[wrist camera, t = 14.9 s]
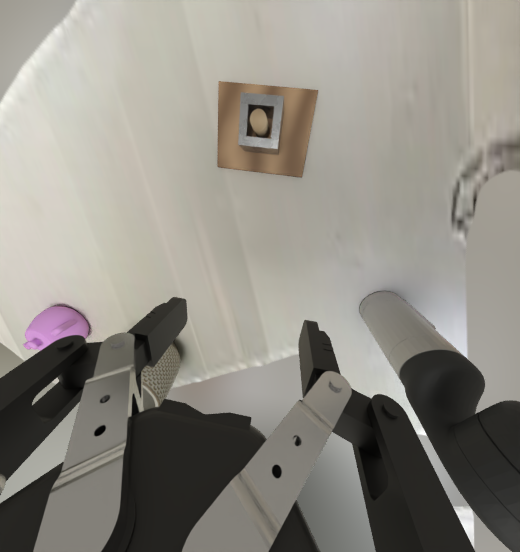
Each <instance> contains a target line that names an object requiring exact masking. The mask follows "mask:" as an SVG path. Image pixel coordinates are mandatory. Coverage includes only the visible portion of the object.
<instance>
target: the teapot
mask: <svg viewBox="0 0 520 552" xmlns="http://www.w3.org/2000/svg"><path fill="white" fill-rule="evenodd" d="M88 332H89V325H88V323H87V321H86V320H85V318H84V317H83V316H82V315H81V314H80V313H78V312H77V311H75V310H73V309H71V308H68V307H60V306H54V307H50V308H48V309H46V310H44V311H43V312H41V313H40V314H39V315H37V316H36V317H35V318H34V320H33V321H32V322H31V324H30V325H29V327H28V328H27V330H26V332H25V337H26V339H27V341H28V342H26V343H24V344H23V345H24V347H25V348H27V349H31V348H32V349H39V350H42V349H44V348H45V347H47V346H48V345H50V344H51V343H53V342H54V341H56V340H58V339H61V338H63V337H67V336H71V335H81V336H83V337H84V338H85V339H86V337H87V336H88Z"/></svg>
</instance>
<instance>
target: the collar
mask: <svg viewBox="0 0 520 552" xmlns="http://www.w3.org/2000/svg"><path fill="white" fill-rule="evenodd" d="M255 109H262V110H263V111H264V112H265V114H266V117H267V118H269V119H273V124H272V133H271V139H269V138H259V137H252V134H253V128H252V126H251V123H250V116H251V114H252V112H253V111H254V110H255ZM283 117H284V96H278V95H266V94H255V93H243V92H241V98H240V118H239V139H238V145H239V146H240V147H241V148H242V149H243V150H244V151H245V152H254V153H264V154H273V155H279V148H280V140H281V133H282V125H283Z"/></svg>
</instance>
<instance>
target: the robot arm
mask: <svg viewBox="0 0 520 552" xmlns="http://www.w3.org/2000/svg"><path fill="white" fill-rule="evenodd" d="M359 312H360V315H361V317H362V318H363V320H364V322H365V323H366V325H367V327H368V328H369V330H370V332H371V333H372V335H373V337H374V338H375V340H376V341H377V343H378V345H379V346H380V348H381V350H382V351H383V353H384V354H385V356H386V358H387V359H388V361H389V363H390V364H391V366H392V367H393V369H394V371H395V372H396V374H397V375H398V377H399V379H400V380H401V382H402V383H403V385H404V387H405V392H406V396H407V398H408V400H409V402H410V404H411V406H412V408H413V410H414V412H415V413H416V415H417V417H418V419H419V421H420V423H421V424H422V426H423V428H424V430H425V432H426V434H427V436H428V438H429V440H430V442H431V443H432V445H433V447H434V449H435V451H436V453H437V455H438V456H439V458H440V460H441V462H442V464H443V466H444V467H445V469H446V471H447V472H448V474H449V475H450V477H451V479H452V480H453V482H454V484H455V485H456V487H457V488H458V490H459V492H460V493H461V494H462V496H463V497H464V499H465V500H466V501H467V503H468V504H469V506H470V507H471V508H472V510H473V511H474V512H475V513H476V515H477V516H478V517H479V518H480V519H481V521H482V522H483V523H484V524H485V525H486V526H487V528H488V529H489V530H490V531H491V532H492V533H493V534H494V535H495V536H496V537H497V538H498V539H499V540H500V541H501V542H502V543H503V544H504V545H505V546H506V547H507V548H509V549H510V550H511V551H512V552H520V402H518V401H503V402H500V403H497V404H495V405H492V406H490V407H489V408H486V409H484V410H483V411H481V412H479V413H476V414H475V411H476V407H477V404H478V402H479V400H480V398H481V396H482V394H483V392H484V388H485V381H484V377H483V375H482V374H481V372H480V371H479V370H478V369H477V368H476V367H475V366H474V365H473V364H472V363H471V362H470V361H469V360H468V359H467V358H466V357H464V356H463V355H462V354H461V353H460V352H459V351H458V350H457V349H456V348H455V347H453V346H452V345H451V344H450V343H449V342H448V341H447V340H446V339H445V338H443V337H442V336H441V335H440V334H439V333H438V332H437V331H436V330H435V329H436V328H435V326H434V325H432V324H431V323H430V322H429V321H428V320H427V319H426V318H425V317H424V316H422V315H421V314H420V313H419V312H418V311H417V310H416V309H415V308H413V307H412V306H411V305H410V304H409V303H408V302H407V301H406V300H402V299H401V298H400V297H399V296H398V295H396V294H395V293H392V292H388V291H381V292H376V293H373V294H371V295H369V296H368V297H366V298H365V299H364V300H363V301H362V303H361V305H360V309H359ZM186 322H187V304H186V300H185V299H183V298H177V297H173V298H171V299H170V300H169V301H168V302H167V303H163V304H161V305H159V306H157V307H155V308H154V309H153V310H152V311H151V312H150V313H149V314H147V315H146V317H144V318H143V319H142V320H141V321H139V322H138V323H137V324H136V325H135V326H134V327H133V328H132V329H130V330H129V331H128V332H127V333H118V334H115V335H113V336H110V337H109V338H107V339H106V340H105V341H104V342H94V343H86V340H85V338H84V337H83V336H81V335H71V336H67V337H63V338H61V339H58V340H56V341H54V342H53V343H51V344H50V345H48V346H47V347H45V348H44V349H42V350H41V351H40V352H38V353H37V354H35V355H34V356H32V357H31V358H29V359H28V360H26V361H25V362H23V363H22V364H21V365H19V366H18V367H16V368H15V369H13V370H12V371H10V372H9V373H7V374H6V375H5V376H3V377H2V378H0V495H1V493H2V491H3V489H4V486H5V483H6V481H7V480H8V478H9V477H10V476H11V475H12V474H13V473H14V472H15V471H16V470H17V469H18V468H19V467H20V466H21V464H22V463H23V462H24V461H25V460H26V459H27V458H28V457H29V456H30V455H31V454H32V452H33V451H34V450H35V449H36V448H37V447H38V446H39V445H40V444H41V443H42V442H43V441H44V440H45V438H46V437H47V436H48V435H49V434H50V433H51V432H52V431H53V430H54V429H55V428H56V426H57V425H58V424H59V423H60V422H61V421H62V420H63V419H64V418H65V417H66V416H67V415H68V413H69V412H70V411H71V410H72V409H73V408H74V407H75V406H76V405H77V404H78V403H79V402H80V404H79V408H78V412H77V415H76V419H75V423H74V426H73V430H72V434H71V438H70V441H69V445H68V449H67V453H66V456H65V460H64V462H62V463H61V464H59V465H58V466H56V467H55V468H53V469H52V470H50V471H49V472H47V473H46V474H44V475H43V476H41V477H40V478H38V479H37V480H35V481H34V482H32V483H31V484H29V485H27V486H26V487H25V488H23V489H21V490H20V491H18V492H17V493H15V494H14V495H12V496H11V497H9V498H8V499H6V500H5V501H3V502H2V503H0V552H320V550H319V548H318V546H317V544H316V542H315V539H314V537H313V535H312V533H311V531H310V528H309V526H308V524H307V522H306V520H305V517H304V516H303V513H302V511H301V509H300V507H299V504H298V502H297V500H296V499H297V497H298V495H299V493H300V491H301V489H302V487H303V486H304V484H305V482H306V480H307V478H308V476H309V474H310V472H311V470H312V468H313V467H314V465H315V463H316V461H317V459H318V457H319V455H320V453H321V451H322V449H323V447H324V446H325V444H326V442H327V439H328V438H329V436H330V434H331V432H334V433H335V434H337V435H339V436H340V437H342V438H344V439H345V440H347V441H349V442H351V443H352V445H353V450H354V454H355V459H356V463H357V468H358V472H359V477H360V481H361V486H362V490H363V495H364V500H365V504H366V509H367V514H368V518H369V523H370V527H371V532H372V536H373V541H374V545H375V550H376V552H475V550H474V548H473V546H472V544H471V542H470V540H469V538H468V536H467V534H466V532H465V530H464V528H463V526H462V524H461V522H460V520H459V518H458V516H457V514H456V512H455V510H454V508H453V506H452V504H451V502H450V500H449V498H448V496H447V494H446V492H445V490H444V488H443V486H442V484H441V482H440V480H439V478H438V476H437V474H436V472H435V470H434V468H433V466H432V464H431V462H430V460H429V458H428V456H427V454H426V452H425V450H424V448H423V446H422V444H421V442H420V440H419V438H418V436H417V434H416V432H415V430H414V428H413V426H412V424H411V422H410V420H409V418H408V416H407V414H406V412H405V411H404V409H403V408H402V407H401V406H400V405H399V404H398V403H397V402H396V401H394V400H393V399H391V398H390V397H388V396H385V395H381V394H377V395H374V396H373V398H372V399H371V398H369V397H367V396H365V395H363V394H361V393H359V392H357V391H355V390H353V389H352V388H351V386H350V384H349V383H348V381H347V380H346V379H345V378H344V377H343V376H342V375H341V374H340V371H339V367H338V364H337V361H336V357H335V354H334V352H333V348H332V344H331V341H330V338H329V337H328V335H327V334H326V333H325V332H324V331H319V328H318V324H317V322H314V321H308V320H305V321H304V323H303V327H302V331H301V334H300V338H299V357H300V370H301V381H302V392H303V400H302V401H301V400H299V401H298V402H297V403H296V404H295V405H294V406H293V408H292V409H291V410H290V411H289V413H288V414H287V415H286V417H285V418H284V419H283V420H282V421H281V423H280V424H279V425H278V426H277V428H276V429H275V430H274V431H273V433H272V434H271V435H270V436H269V438H268V439H266V438H265V436H264V435H263V434H262V433H261V432H260V431H259V430H257V429H256V428H255V427H253V426H251V425H250V423H251V417H247V416H243V415H238V414H233V413H220V414H202V413H201V412H199V411H197V410H196V409H194V408H192V407H191V406H189V405H187V404H185V403H181V402H176V401H172V400H167V399H164V400H163V402H162V403H161V405H160V407H154V408H150V409H147V410H144V408H143V372H142V370H143V369H144V367H145V366H150V367H154V366H155V365H156V364H157V362H158V361H159V360H160V358H161V357H162V356H163V354H164V353H165V352H166V350H167V349H168V348H169V346H170V345H171V344H172V342H173V341H174V340H175V338H176V337H177V336H178V335H179V333H180V332H181V331H182V329H183V328H184V327H185V325H186ZM57 377H58V379H59V382H58V383H57V384H56V385H55V386H54V387H53V388H52V389H50V390H49V391H48V392H47V393H46V394H45V395H44V396H43V397H42V398H40V399H39V400H38V401H37V402H36V403H35V404H34V405H32V402H33V400H34V398H35V396H36V395H37V394H38V393H39V392H40V391H41V390H42V389H44V388H45V387H46V386H47V385H49V384H50V383H51V382H52V381H53V380H54V379H56V378H57Z"/></svg>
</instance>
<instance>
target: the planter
mask: <svg viewBox="0 0 520 552" xmlns="http://www.w3.org/2000/svg"><path fill="white" fill-rule="evenodd" d="M180 362H181V361H180V355H179V353H178V351H177V347H176V345H175V344H174V343H173V342H172V344H171V345H170V346H169V348H168V349H167V350H166V352H165V353H164V354H163V356H162V357H161V358H160V360H159V361H158V362H157V364H156V365H155V366H154V367H150V366H145V367H144V369H143V370H142V372H143V408H144V410H147V409H150V408H154V407H160V405H161V403H162V402H163V400H164V399H165V398H166V397H167V394H168V393H169V390H170V389H171V387H172V385H173V382H174V380H175V378H176V376H177V373H178V371H179V368H180Z"/></svg>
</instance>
